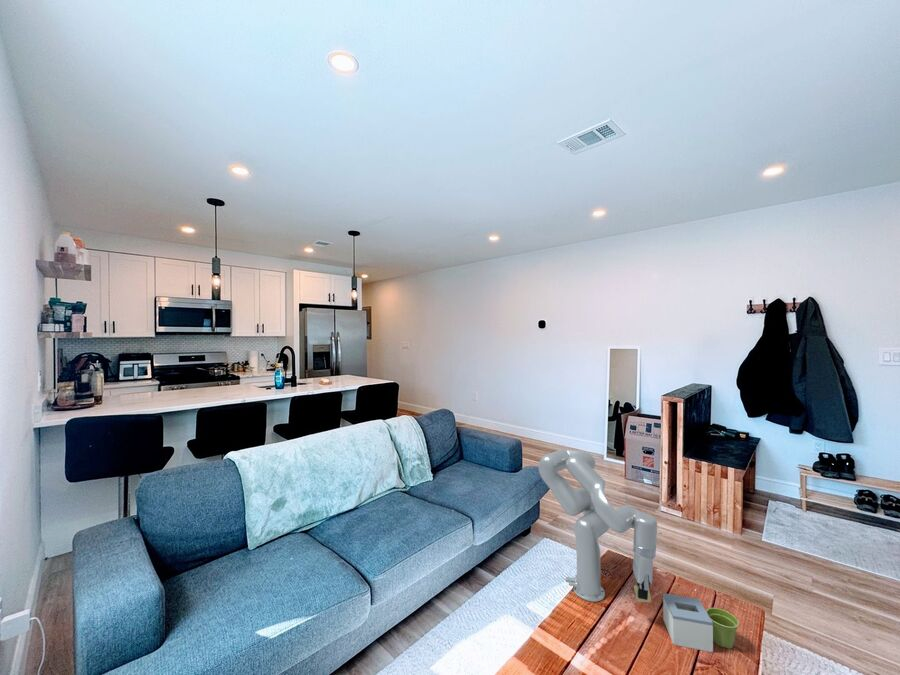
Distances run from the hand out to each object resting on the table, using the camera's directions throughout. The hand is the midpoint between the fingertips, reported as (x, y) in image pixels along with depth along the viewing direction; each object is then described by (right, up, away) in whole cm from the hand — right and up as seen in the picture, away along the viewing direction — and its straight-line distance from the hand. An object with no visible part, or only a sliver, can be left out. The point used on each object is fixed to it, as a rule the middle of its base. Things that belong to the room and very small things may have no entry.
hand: (641, 596), depth 139 cm
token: (+1, -1, 0) cm, 2 cm away
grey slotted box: (+13, -9, -6) cm, 17 cm away
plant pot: (+23, -10, -9) cm, 27 cm away
